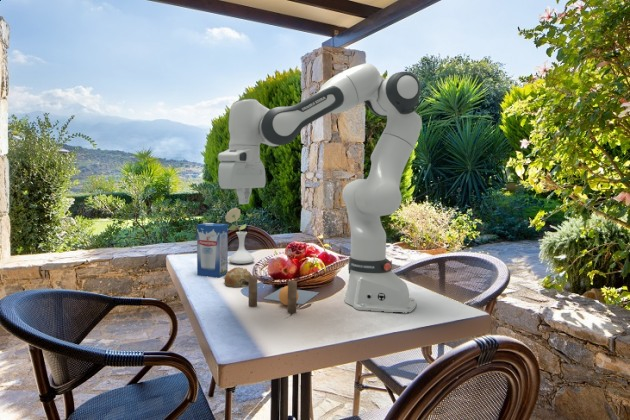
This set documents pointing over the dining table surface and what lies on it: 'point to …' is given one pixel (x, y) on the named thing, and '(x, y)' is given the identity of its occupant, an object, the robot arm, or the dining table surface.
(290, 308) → the post near
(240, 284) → the bread roll
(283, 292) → the ball
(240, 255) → the flower in vase
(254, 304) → the post far
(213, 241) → the milk carton
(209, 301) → the dining table surface
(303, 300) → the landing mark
